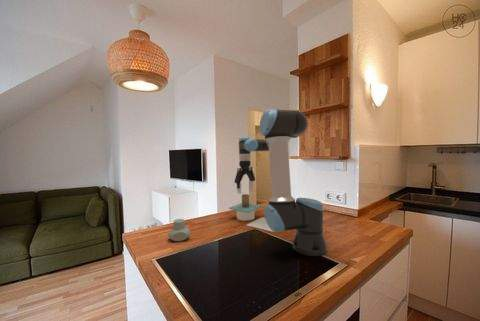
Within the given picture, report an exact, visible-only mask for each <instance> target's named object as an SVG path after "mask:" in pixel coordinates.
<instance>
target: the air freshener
mask: <svg viewBox="0 0 480 321" xmlns="http://www.w3.org/2000/svg"><path fill="white" fill-rule="evenodd" d="M172 222H173V228H172V229H170V231H169V232H168V238H169V239H171V240H172V241H173V242H174V241H175V242H183V241H184V240H187V239H188V238H189V236H190V235H191V230H190V229H189V227H187V226H186V220H185V219H183V218H178V219H174V220H173V221H172Z"/></svg>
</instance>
